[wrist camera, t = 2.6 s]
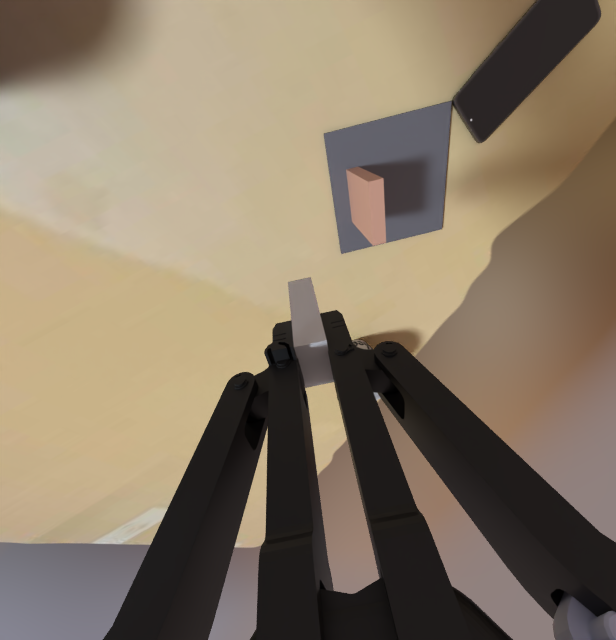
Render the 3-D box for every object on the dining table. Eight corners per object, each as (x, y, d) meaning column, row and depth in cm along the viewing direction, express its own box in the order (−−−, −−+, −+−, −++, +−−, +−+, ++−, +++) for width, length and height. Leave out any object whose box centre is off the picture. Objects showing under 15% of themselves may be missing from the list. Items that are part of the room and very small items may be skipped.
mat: (323, 133, 35) (324, 133, 34) (449, 101, 34) (451, 100, 34) (341, 252, 44) (341, 253, 44) (440, 228, 44) (441, 229, 43)
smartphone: (604, 17, 31) (480, 146, 37) (595, 20, 32) (475, 145, 38) (583, -54, 28) (451, 100, 34) (574, -48, 29) (447, 100, 34)
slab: (346, 169, 37) (368, 181, 29) (357, 166, 37) (383, 178, 29) (352, 221, 41) (372, 245, 33) (362, 219, 41) (386, 242, 33)
